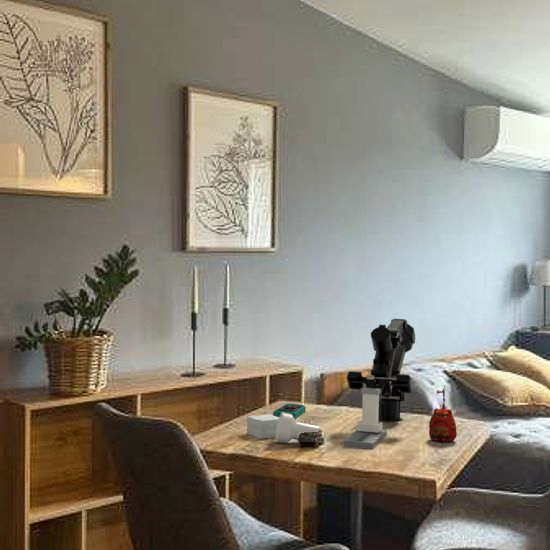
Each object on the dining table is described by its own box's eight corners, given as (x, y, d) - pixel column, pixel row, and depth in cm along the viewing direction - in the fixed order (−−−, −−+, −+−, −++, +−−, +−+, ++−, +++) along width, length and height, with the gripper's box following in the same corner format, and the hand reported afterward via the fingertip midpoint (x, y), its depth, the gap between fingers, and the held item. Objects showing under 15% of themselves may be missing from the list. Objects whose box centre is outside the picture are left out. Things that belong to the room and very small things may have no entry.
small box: (269, 431, 231) (269, 413, 230) (283, 436, 224) (284, 418, 224) (245, 433, 227) (246, 415, 226) (259, 439, 220) (259, 420, 220)
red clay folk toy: (426, 441, 220) (428, 387, 220) (431, 436, 227) (432, 384, 227) (454, 444, 218) (456, 389, 217) (458, 439, 224) (459, 386, 224)
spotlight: (272, 434, 220) (279, 407, 218) (312, 442, 221) (319, 415, 219) (274, 446, 212) (281, 418, 210) (315, 454, 213) (323, 427, 211)
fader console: (359, 432, 230) (359, 427, 230) (386, 435, 227) (386, 429, 227) (343, 446, 213) (343, 439, 213) (373, 448, 210) (373, 442, 210)
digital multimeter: (306, 413, 262) (306, 404, 262) (294, 421, 248) (294, 411, 248) (284, 411, 264) (284, 402, 264) (272, 419, 250) (272, 410, 250)
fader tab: (361, 427, 228) (362, 387, 228) (382, 429, 226) (383, 388, 226) (357, 430, 224) (358, 389, 223) (378, 432, 222) (379, 391, 221)
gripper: (416, 381, 243) (409, 424, 233) (356, 377, 249) (347, 418, 239) (413, 358, 235) (405, 401, 225) (351, 354, 241) (341, 396, 231)
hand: (374, 405), depth 230 cm, fingers closed
